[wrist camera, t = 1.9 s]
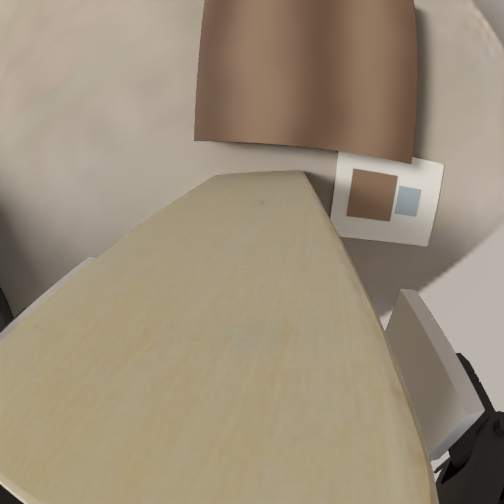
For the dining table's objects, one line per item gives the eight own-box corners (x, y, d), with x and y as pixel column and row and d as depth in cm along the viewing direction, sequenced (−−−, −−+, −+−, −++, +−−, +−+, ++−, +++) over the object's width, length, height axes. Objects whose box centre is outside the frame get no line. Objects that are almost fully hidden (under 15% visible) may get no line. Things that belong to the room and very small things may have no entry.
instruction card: (327, 234, 21) (328, 235, 21) (338, 142, 19) (339, 143, 18) (426, 245, 21) (427, 246, 21) (442, 164, 18) (444, 165, 18)
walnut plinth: (205, 139, 19) (194, 140, 17) (218, -22, 14) (210, -39, 11) (394, 159, 19) (411, 164, 16) (397, 0, 13) (411, -14, 10)
